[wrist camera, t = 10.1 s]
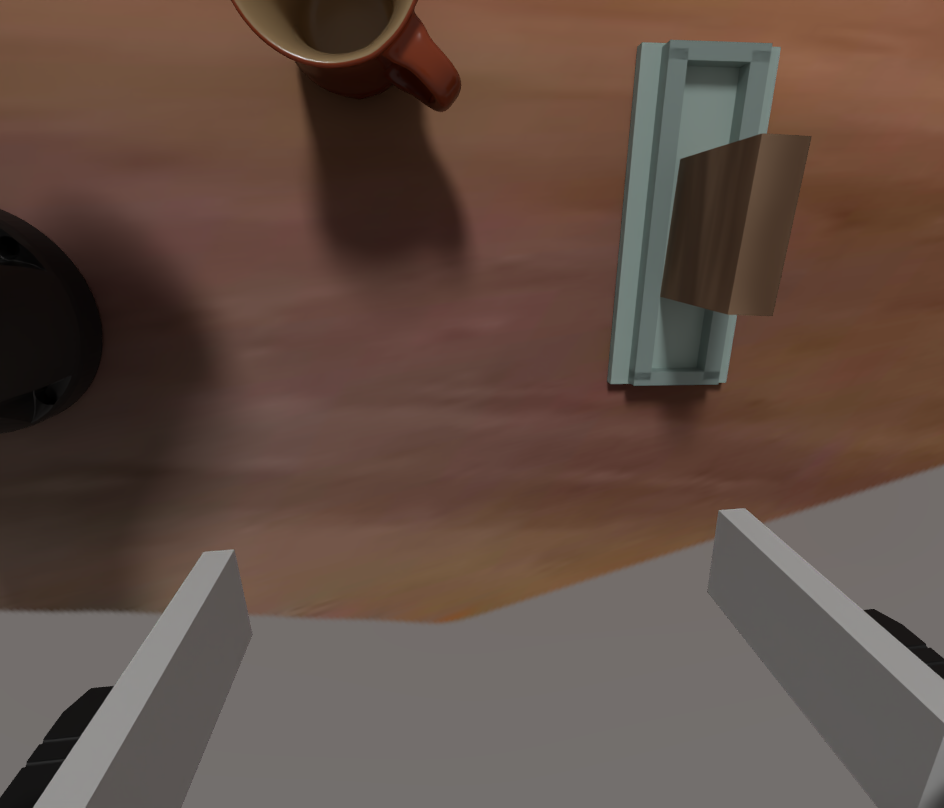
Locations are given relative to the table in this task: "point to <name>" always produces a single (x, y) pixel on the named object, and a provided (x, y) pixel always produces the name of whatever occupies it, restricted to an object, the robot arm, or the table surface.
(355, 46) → the mug
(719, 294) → the slider block
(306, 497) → the table surface
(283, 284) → the table surface
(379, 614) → the table surface
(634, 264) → the track base
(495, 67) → the table surface
